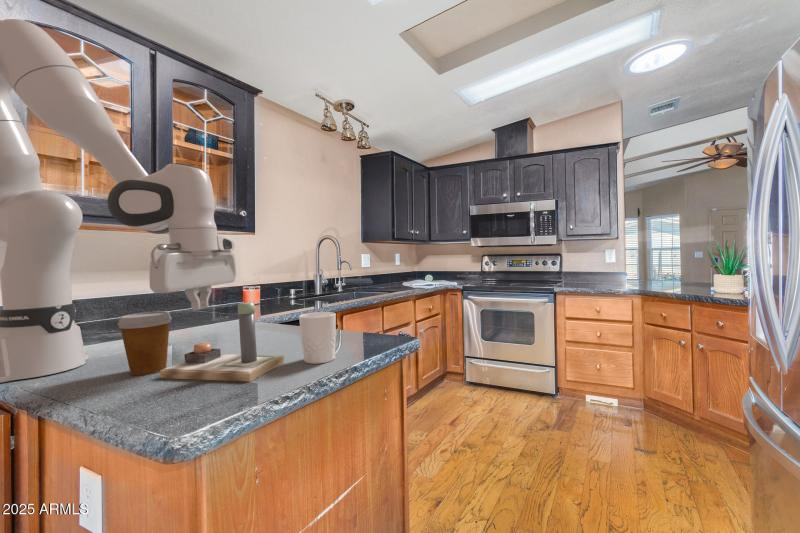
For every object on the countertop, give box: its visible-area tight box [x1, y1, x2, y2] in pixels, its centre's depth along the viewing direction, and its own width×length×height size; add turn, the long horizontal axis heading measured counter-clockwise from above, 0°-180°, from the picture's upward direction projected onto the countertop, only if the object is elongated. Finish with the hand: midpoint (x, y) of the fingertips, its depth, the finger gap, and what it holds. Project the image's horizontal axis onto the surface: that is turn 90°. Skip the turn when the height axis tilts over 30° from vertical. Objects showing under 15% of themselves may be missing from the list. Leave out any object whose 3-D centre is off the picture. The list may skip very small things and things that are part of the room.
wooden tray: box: [159, 348, 285, 382], centre depth 77 cm, size 20×12×4 cm, turn 77°
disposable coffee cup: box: [117, 310, 173, 376], centre depth 79 cm, size 10×10×12 cm
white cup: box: [298, 311, 337, 365], centre depth 82 cm, size 8×8×10 cm
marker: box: [237, 301, 258, 363], centre depth 77 cm, size 3×3×12 cm
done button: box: [193, 342, 212, 354], centre depth 79 cm, size 3×3×2 cm
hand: (200, 308), depth 79 cm, fingers closed
